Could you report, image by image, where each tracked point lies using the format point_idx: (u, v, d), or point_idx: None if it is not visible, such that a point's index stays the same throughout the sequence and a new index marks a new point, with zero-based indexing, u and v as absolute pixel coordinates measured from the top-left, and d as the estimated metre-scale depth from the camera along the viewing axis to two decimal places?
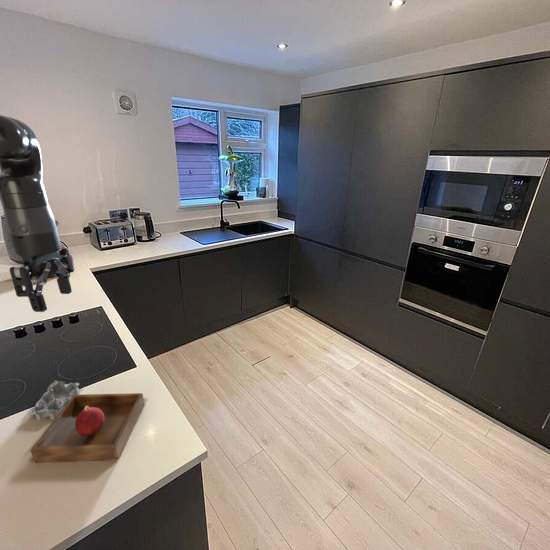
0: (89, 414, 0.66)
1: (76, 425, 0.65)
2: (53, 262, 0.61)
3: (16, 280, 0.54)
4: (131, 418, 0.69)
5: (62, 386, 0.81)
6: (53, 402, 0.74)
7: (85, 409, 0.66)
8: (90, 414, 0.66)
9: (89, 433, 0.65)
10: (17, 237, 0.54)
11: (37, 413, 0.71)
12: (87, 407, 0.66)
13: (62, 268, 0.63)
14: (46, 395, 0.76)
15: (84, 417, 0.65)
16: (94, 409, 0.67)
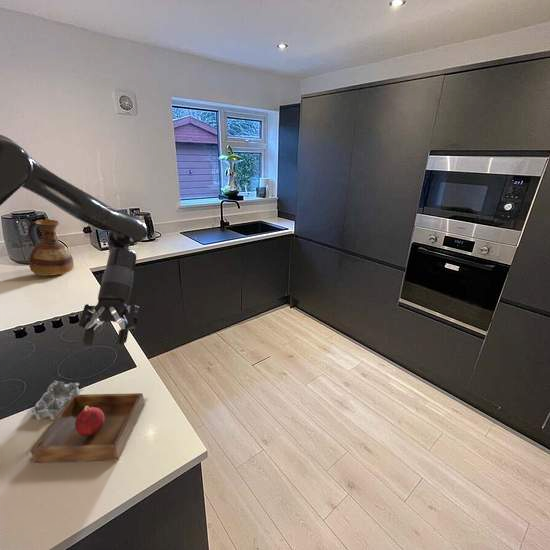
0: (89, 414, 0.66)
1: (76, 425, 0.65)
2: None
3: (135, 313, 0.75)
4: (131, 418, 0.69)
5: (62, 386, 0.81)
6: (53, 402, 0.74)
7: (85, 409, 0.66)
8: (90, 414, 0.66)
9: (89, 433, 0.65)
10: (128, 286, 0.78)
11: (37, 413, 0.71)
12: (87, 407, 0.66)
13: None
14: (46, 395, 0.76)
15: (84, 417, 0.65)
16: (94, 409, 0.67)
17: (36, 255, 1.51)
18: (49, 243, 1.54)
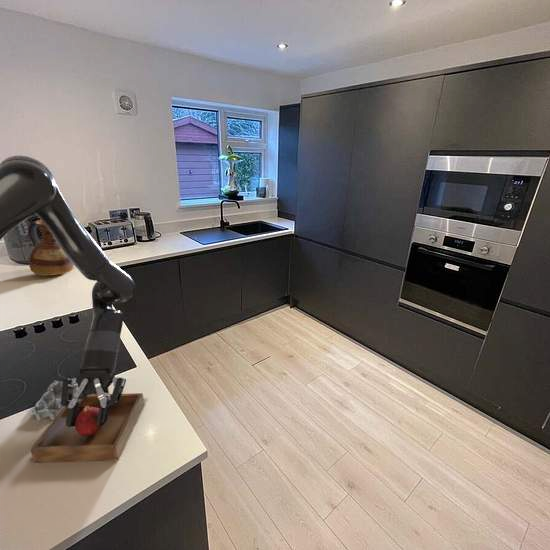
0: (89, 414, 0.66)
1: (76, 425, 0.65)
2: None
3: (120, 388, 0.69)
4: (131, 418, 0.69)
5: None
6: (53, 402, 0.74)
7: (85, 409, 0.66)
8: (90, 414, 0.66)
9: (89, 433, 0.65)
10: (114, 353, 0.72)
11: (37, 413, 0.71)
12: (87, 407, 0.66)
13: None
14: (46, 395, 0.76)
15: (84, 417, 0.65)
16: (94, 409, 0.67)
17: (36, 255, 1.51)
18: (49, 243, 1.54)
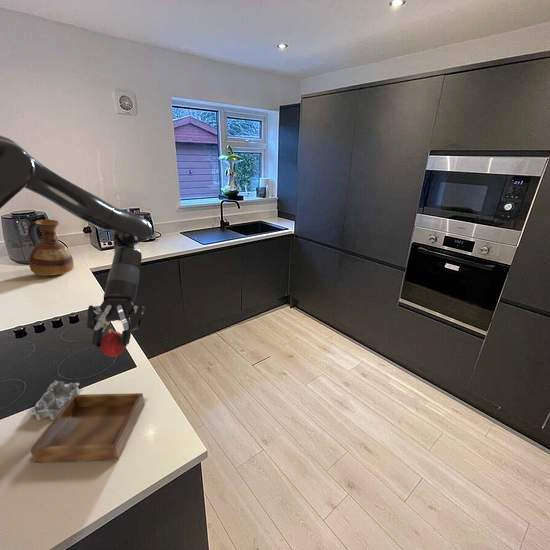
0: (113, 335, 0.71)
1: (101, 345, 0.71)
2: None
3: (140, 315, 0.74)
4: (131, 418, 0.69)
5: (62, 386, 0.81)
6: (53, 402, 0.74)
7: (109, 331, 0.72)
8: (114, 336, 0.72)
9: (113, 353, 0.71)
10: (135, 285, 0.77)
11: (37, 413, 0.71)
12: (111, 330, 0.72)
13: None
14: (46, 395, 0.76)
15: (108, 338, 0.71)
16: (117, 332, 0.73)
17: (36, 255, 1.51)
18: (49, 243, 1.54)
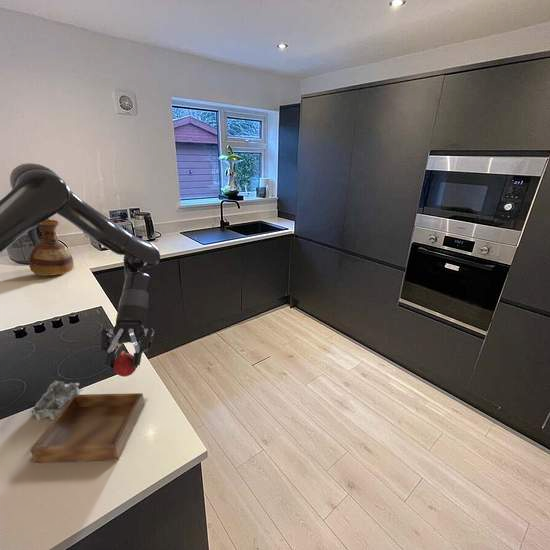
0: (125, 357, 0.77)
1: (115, 366, 0.77)
2: None
3: (150, 337, 0.80)
4: (131, 418, 0.69)
5: (62, 386, 0.81)
6: (53, 402, 0.74)
7: (122, 353, 0.77)
8: (126, 357, 0.77)
9: (125, 373, 0.77)
10: (145, 309, 0.83)
11: (37, 413, 0.71)
12: (123, 352, 0.78)
13: None
14: (46, 395, 0.76)
15: (121, 359, 0.77)
16: (129, 354, 0.79)
17: (36, 255, 1.51)
18: (49, 243, 1.54)
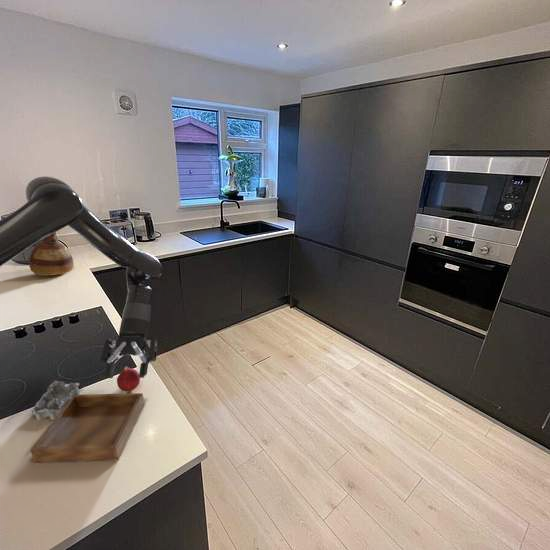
0: (128, 373, 0.79)
1: (118, 382, 0.78)
2: None
3: (155, 347, 0.82)
4: (131, 418, 0.69)
5: (62, 386, 0.81)
6: (53, 402, 0.74)
7: (125, 369, 0.79)
8: (130, 373, 0.79)
9: (129, 388, 0.79)
10: (147, 322, 0.85)
11: (37, 413, 0.71)
12: (127, 367, 0.80)
13: None
14: (46, 395, 0.76)
15: (124, 375, 0.78)
16: (132, 369, 0.81)
17: (36, 255, 1.51)
18: (49, 243, 1.54)
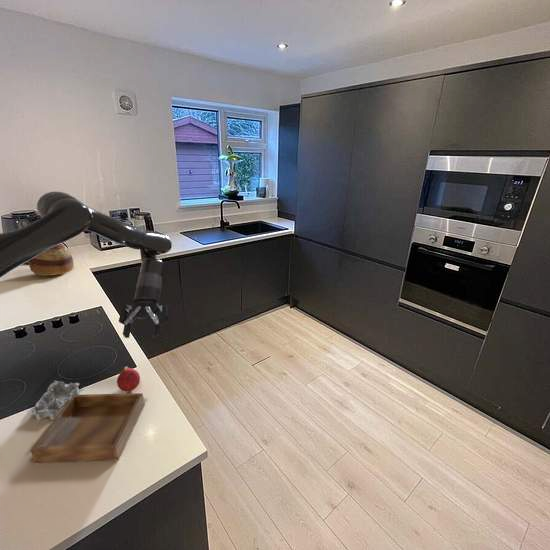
0: (128, 373, 0.79)
1: (118, 382, 0.78)
2: None
3: (166, 312, 0.92)
4: (131, 418, 0.69)
5: (62, 386, 0.81)
6: (53, 402, 0.74)
7: (125, 369, 0.79)
8: (130, 373, 0.79)
9: (129, 388, 0.79)
10: (159, 290, 0.95)
11: (37, 413, 0.71)
12: (127, 367, 0.80)
13: None
14: (46, 395, 0.76)
15: (124, 375, 0.78)
16: (132, 369, 0.81)
17: None
18: None
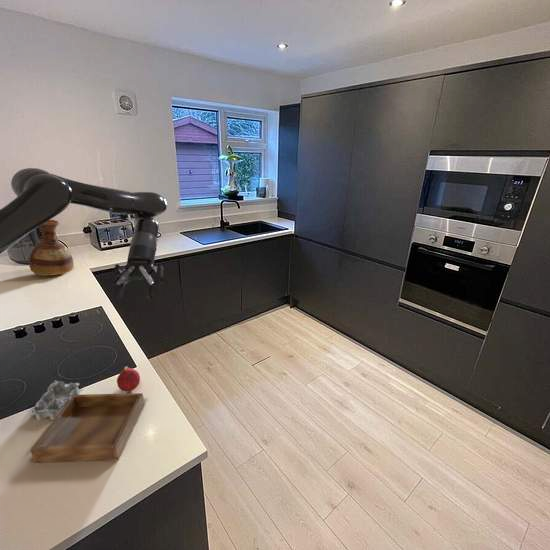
0: (128, 373, 0.79)
1: (118, 382, 0.78)
2: None
3: (161, 272, 0.87)
4: (131, 418, 0.69)
5: (62, 386, 0.81)
6: (53, 402, 0.74)
7: (125, 369, 0.79)
8: (130, 373, 0.79)
9: (129, 388, 0.79)
10: (153, 250, 0.90)
11: (37, 413, 0.71)
12: (127, 367, 0.80)
13: None
14: (46, 395, 0.76)
15: (124, 375, 0.78)
16: (132, 369, 0.81)
17: (36, 255, 1.51)
18: (49, 243, 1.54)
